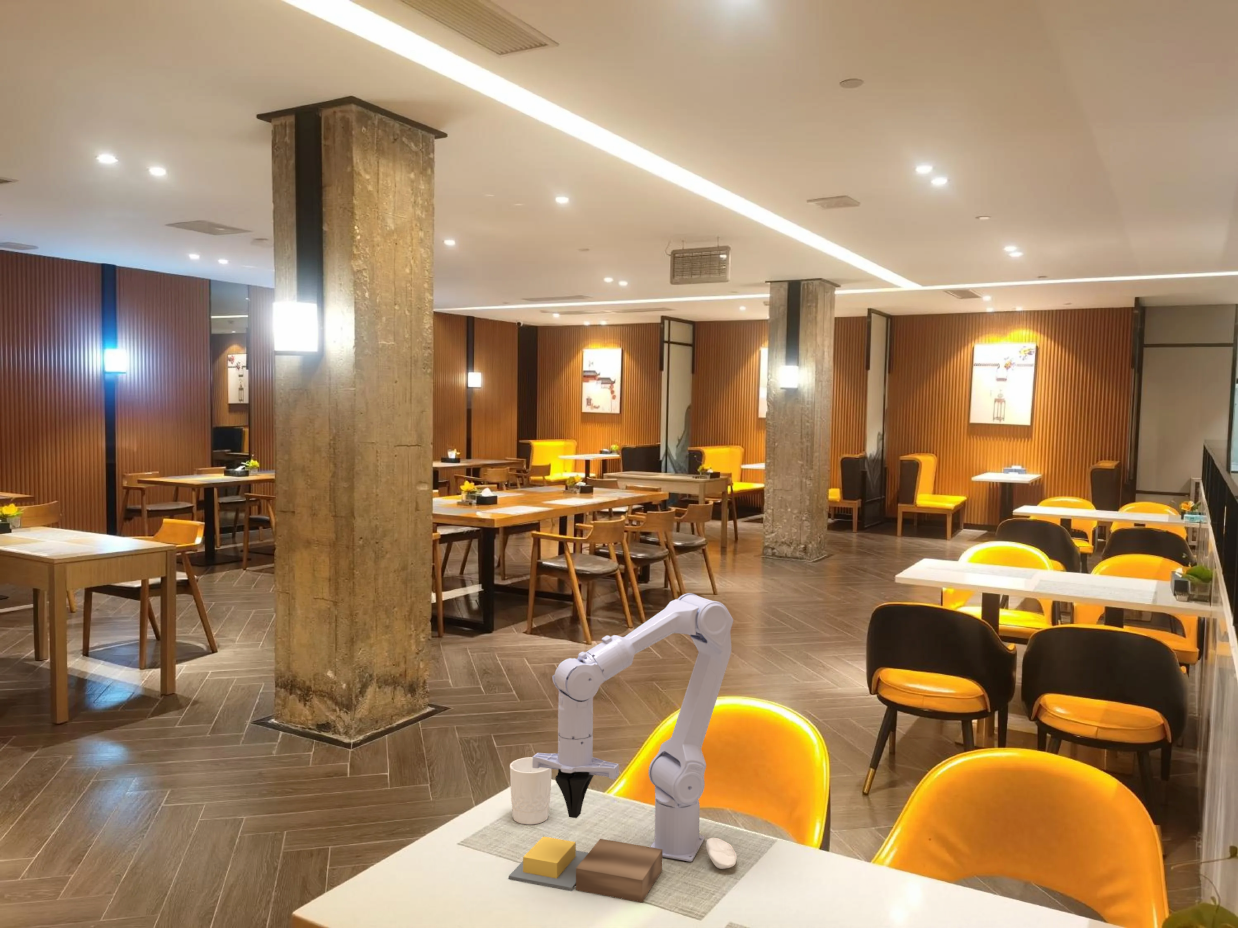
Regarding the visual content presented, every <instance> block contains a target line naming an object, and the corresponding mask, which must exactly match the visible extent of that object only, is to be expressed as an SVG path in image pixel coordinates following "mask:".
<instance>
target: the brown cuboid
mask: <svg viewBox="0 0 1238 928" xmlns="http://www.w3.org/2000/svg"><path fill="white" fill-rule="evenodd" d="M662 850H663V849H658V848H652V847H650V846H646V845H639V844H633V843H629V842H628V843H627V842H622V841H616V840H610V839H604V838H599V839H598V841H597V842H596V843H595V844H594V846H593V847H592V848H591V850H589V852H588V854H587V855H586V857H585V858H584V859H583V860H582V862H581V863H580V864H579V865H578V866H577V868H576V886H575V891H580V892H586V893H589V894H595V895H600V896H601V895H602V896H604V897H605V896H606V897H610V896H611V897H612V898H615V897H616V898H617V899H621V898H622V900H627V901H632V902H637V903H644V901H645V900H646V897H647V896H648V894H649V892H650V891H651V889H652V887H653V886H654V884H655V882H656V881H657V879H658V878H659V876H660V874H661V873H662V871H663V857H662ZM649 890H650V891H649ZM646 895H647V896H646ZM611 897H610V898H611Z"/></svg>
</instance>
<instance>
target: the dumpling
mask: <svg viewBox="0 0 1238 928" xmlns="http://www.w3.org/2000/svg"><path fill="white" fill-rule="evenodd" d="M705 844H706V845H705V846H706V847H705V848H706V852H707V855H708V857H709V859H710V860H711V861H712V864H713V865H714V866H715V867H716V868H717V869H719V870H725V869H729V868H733V867H734V866H735V865H736V863H737V861H738V860H737V859H738V856H737V853H736V851H735V849H734V847H733V846H732V845H731V844H730V843H729V842H726V841H725V840H723V839H721V838H718V837H710V838H707V840H706V843H705Z"/></svg>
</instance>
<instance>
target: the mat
mask: <svg viewBox="0 0 1238 928" xmlns="http://www.w3.org/2000/svg"><path fill="white" fill-rule="evenodd" d="M588 853H589V852H587V851H582V850H581V851H580V850H577V849H576V857H575V858H574V859H573V860H572V861H571V863H570V864H569V865H568V866H567V867H566V868H565V870H564V871H563V872H562V873H561V874H560V875H559V877H558V878H552V877H546V876H541V875H536V874H530V873H525V872H523V860H522V861H521V862H520V863H519V865H518V866H517V867H516V868H515V869H513V870H512V872H511V873H510V874H509V875H508V880H513V881H518V882H523V883H528V884H534V885H538V886H544V887H548V888H549V887H550V888H554V889H559V890H564V891H570V892H572V891H573V890H574V889H575V888H576V868H577V866H578V865H579V864H580V863H581V862H582V860H583V859H584V858H585V857H586V855H587V854H588Z"/></svg>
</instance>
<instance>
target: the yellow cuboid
mask: <svg viewBox="0 0 1238 928" xmlns="http://www.w3.org/2000/svg"><path fill="white" fill-rule="evenodd" d="M576 844H577V843H576V841H572V840H567V839H566V840H565V839H561V838H554V837H549V836H542V837H541V838H540V839H539V840H538V841H537V842H536V843H535V844H534V846H532V847H531V848H530V849H529V851H527V852H526V853H525V854H524V856H522V861H523V872H525V873H530V874H536V875H541V876H546V877H552V878H558V877H559V875H560V874H561V873H562V872H563V871H564V870H565V868H566V867H567V866H568V865H569V864H570V863H571V861H572V860H573V859H574V858H575V857H576V850H577V849H576V848H577V847H576Z"/></svg>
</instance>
